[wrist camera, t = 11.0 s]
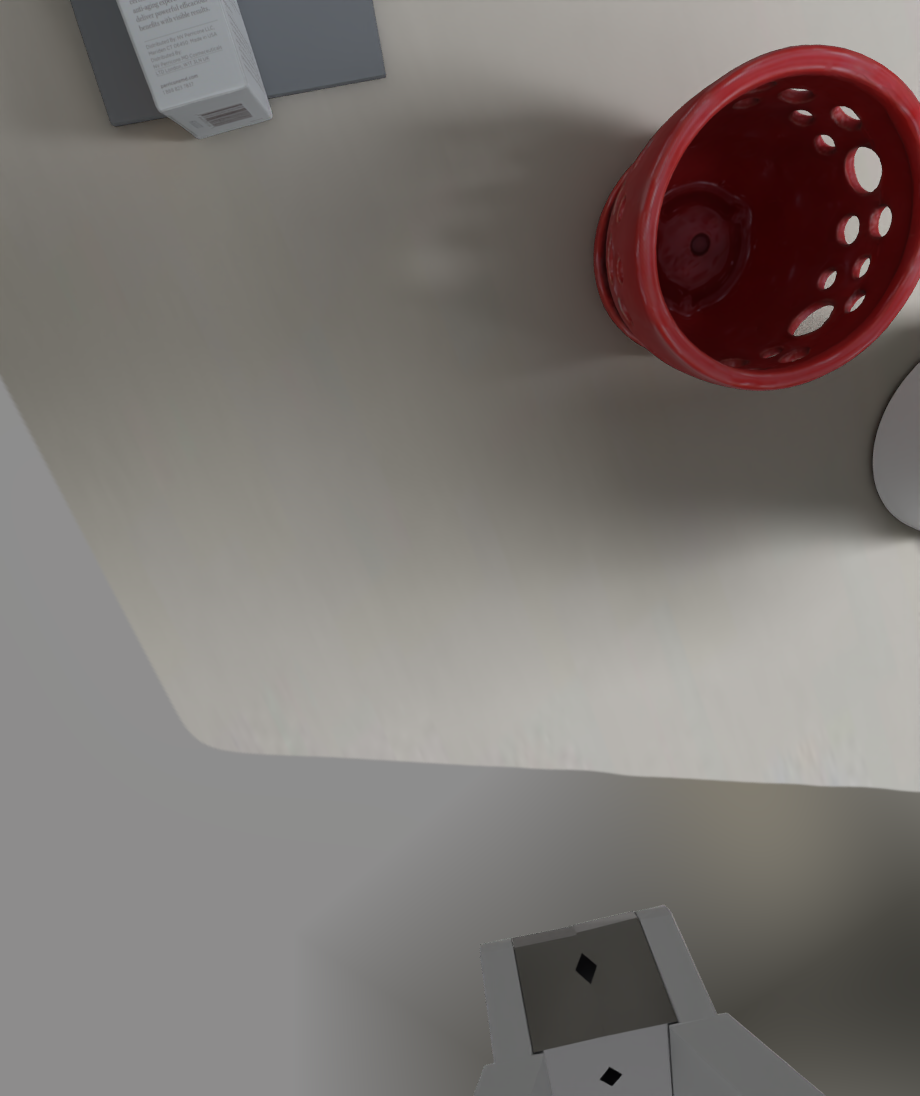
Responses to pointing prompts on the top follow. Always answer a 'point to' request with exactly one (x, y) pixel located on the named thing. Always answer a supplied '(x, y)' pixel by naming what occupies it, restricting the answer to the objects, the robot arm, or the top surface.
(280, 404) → the top surface
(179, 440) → the top surface
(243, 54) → the skincare box
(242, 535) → the top surface
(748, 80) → the plant pot
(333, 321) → the top surface
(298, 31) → the slate mat
